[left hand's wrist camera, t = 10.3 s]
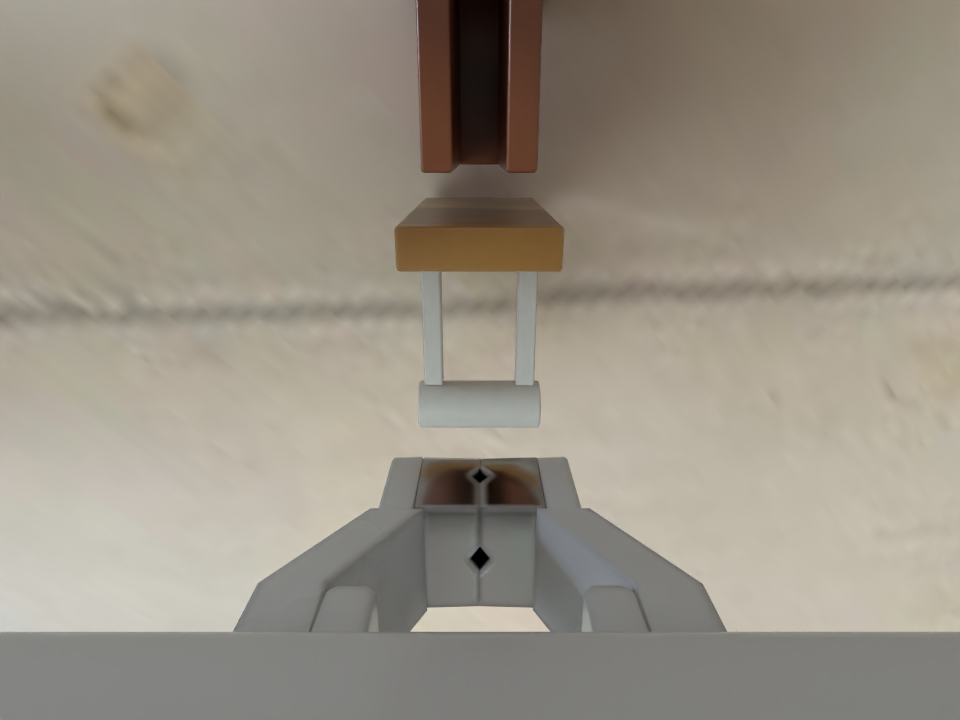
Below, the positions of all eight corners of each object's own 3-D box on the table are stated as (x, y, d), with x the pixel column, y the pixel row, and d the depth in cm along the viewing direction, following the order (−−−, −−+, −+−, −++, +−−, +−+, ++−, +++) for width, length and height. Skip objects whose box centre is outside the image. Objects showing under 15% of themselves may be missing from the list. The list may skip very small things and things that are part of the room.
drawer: (528, 356, 26) (553, 461, 18) (429, 356, 26) (405, 461, 18) (548, -280, 19) (608, -657, 10) (410, -281, 19) (350, -657, 10)
